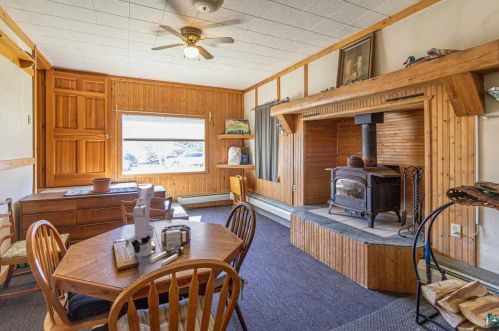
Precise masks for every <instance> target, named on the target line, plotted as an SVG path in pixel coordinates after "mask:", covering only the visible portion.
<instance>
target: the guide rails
mask: <svg viewBox="0 0 499 331" xmlns="http://www.w3.org/2000/svg"><path fill="white" fill-rule="evenodd" d="M167 253H168V252H167V251H163V252H161V253H159V254H157V255H156V256H153V257H151V258H150V259H149V260H150V261H149V262H150V263H151V264H154V263H155V262H157V261H158V260H160V259H162V258H164V257H165V256H167V255H168V254H167ZM178 256H179V255H178V254H175V255H170V257H168V258H166V259H164V260H162V261H161V266H163V267H164V266H167V264H169V263H170V262H172V261H174V260H176V259H178Z"/></svg>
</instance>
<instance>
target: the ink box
mask: <svg viewBox="0 0 499 331" xmlns="http://www.w3.org/2000/svg"><path fill="white" fill-rule="evenodd" d="M165 234H166V236H165V237H166V238H165V239H166V243H165V244H166V250H167V251H168V252H169V250H170V249H171V248H173V247H175V246H178V245H180V246H181V247H182V243H181V242H182V241H181V240H182V237H181V230H180V229H173V230H166V231H165Z"/></svg>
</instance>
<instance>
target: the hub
mask: <svg viewBox="0 0 499 331" xmlns="http://www.w3.org/2000/svg"><path fill="white" fill-rule="evenodd" d="M147 253H148V251H147V243H145V242H140V244H139V253H135V251H134V250H133V256H137V257H144V256H143V255H145V254H147Z"/></svg>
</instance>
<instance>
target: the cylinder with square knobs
mask: <svg viewBox="0 0 499 331" xmlns="http://www.w3.org/2000/svg"><path fill="white" fill-rule="evenodd" d="M184 252H185V250H184V247H183V246H182V245H181V246H180V245H178V246H175V247H173V248H171V249H170V250H169V251H168V255H170V256H173V255H175V254H178V256H179V255H180V254H182V253H184Z"/></svg>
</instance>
